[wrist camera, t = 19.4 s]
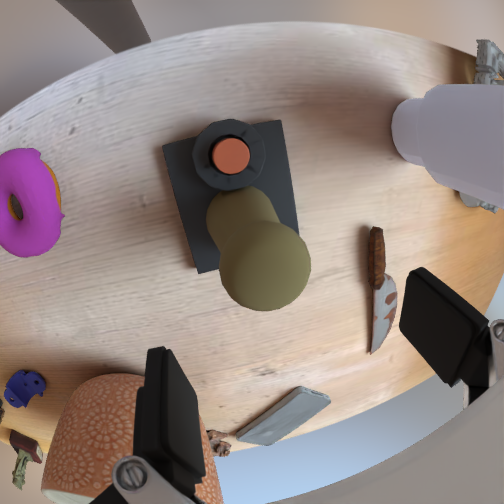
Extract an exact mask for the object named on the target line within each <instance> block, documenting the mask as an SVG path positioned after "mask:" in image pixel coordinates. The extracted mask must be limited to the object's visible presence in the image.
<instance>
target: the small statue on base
mask: <svg viewBox="0 0 504 504" xmlns="http://www.w3.org/2000/svg"><path fill="white" fill-rule="evenodd" d="M9 440H10V444H11V445H12V447H13V448H14V450H15V451H16V452H17V454H18V457H17V461H16V466H15V470H14V471H13V472H12V474H13V484H14V485H15V486H16V487H18V488H19V489H21V490H22V485H24V484H25V481H24V479H25V477H24V475H25V469H26V464H27V462H28V461H31V462H33V461H34V462H37V463H39V464H41V463H42V456H43V453H42V451H41V449H40V447H39V444H38V442H37V441H35V440H33V439H31V438H29V437H26V436H24V435H22V434H20V433H18V432H16V431H14V430H12V431H11V434H10V439H9Z"/></svg>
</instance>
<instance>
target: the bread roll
mask: <svg viewBox="0 0 504 504" xmlns="http://www.w3.org/2000/svg"><path fill="white" fill-rule="evenodd" d="M4 412H5V411H4V409H2V408H1V406H0V424H1V422H2V417H4V416H3V414H4Z"/></svg>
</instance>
